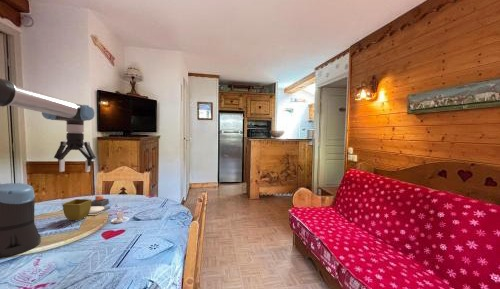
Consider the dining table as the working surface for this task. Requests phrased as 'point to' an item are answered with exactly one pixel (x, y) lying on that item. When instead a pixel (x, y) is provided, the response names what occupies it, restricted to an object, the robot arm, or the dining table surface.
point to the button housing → (100, 202)
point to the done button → (99, 198)
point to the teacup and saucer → (119, 218)
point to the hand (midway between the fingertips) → (74, 171)
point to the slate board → (98, 209)
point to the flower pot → (77, 208)
